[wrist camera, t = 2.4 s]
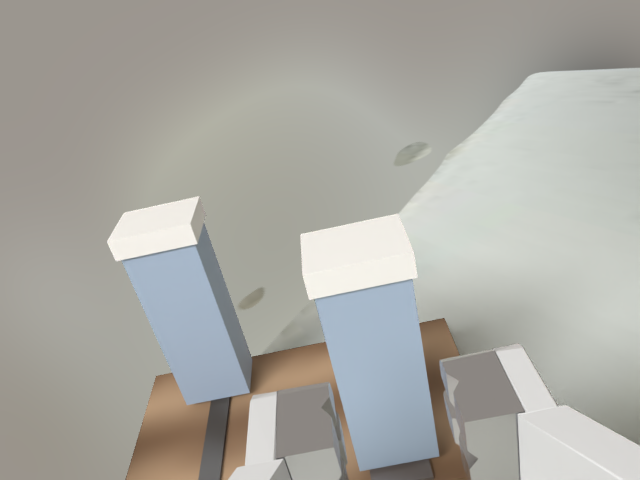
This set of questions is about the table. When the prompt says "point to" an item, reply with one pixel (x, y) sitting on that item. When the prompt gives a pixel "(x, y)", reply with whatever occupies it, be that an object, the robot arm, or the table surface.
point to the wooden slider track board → (269, 376)
